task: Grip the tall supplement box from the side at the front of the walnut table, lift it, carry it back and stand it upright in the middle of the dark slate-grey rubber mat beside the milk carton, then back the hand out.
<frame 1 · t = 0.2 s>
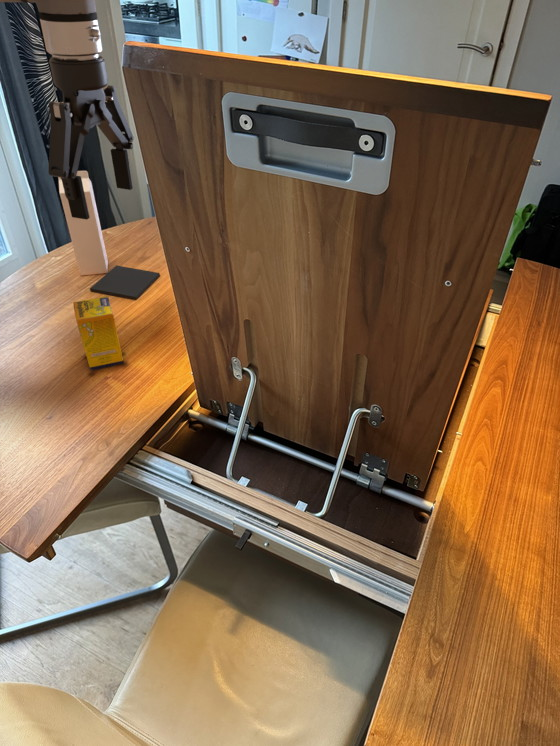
hand: (104, 202, 87), 25 cm above the table, tool pointing down, fingers open, 13 cm apart
milk: (94, 269, 119), on the table
supplement box: (105, 359, 94), on the table
mat: (126, 283, 114), on the table
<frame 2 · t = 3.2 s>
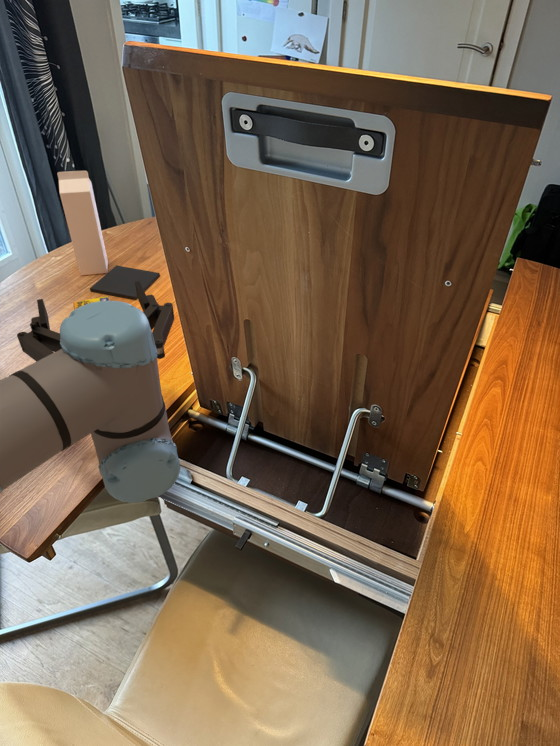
hand: (91, 298, 75), 18 cm above the table, tool horizontal, fingers open, 13 cm apart
nothing on the table moved.
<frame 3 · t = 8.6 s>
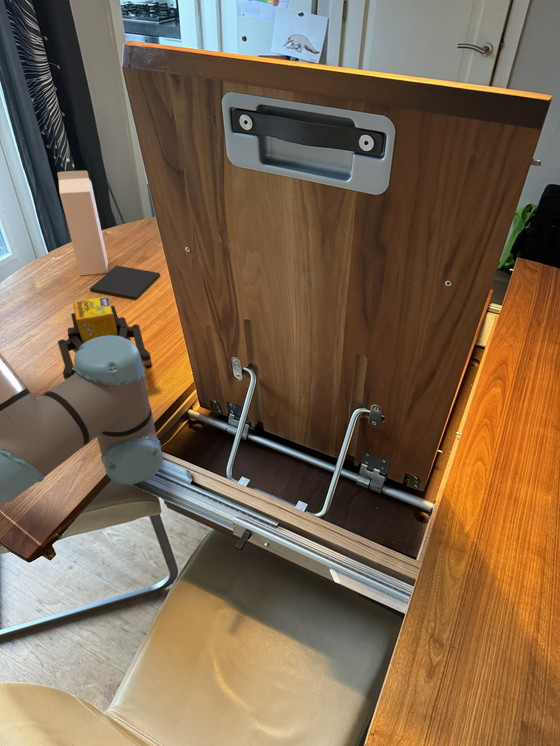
hand: (94, 316, 93), 6 cm above the table, tool horizontal, fingers closed on supplement box, 6 cm apart
supplement box: (105, 359, 94), on the table, touching gripper
everything else where it was.
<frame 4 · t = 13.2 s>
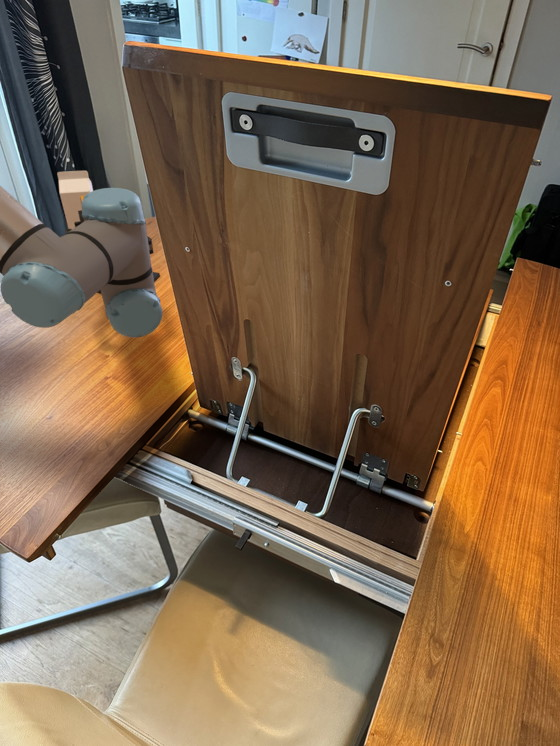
hand: (99, 215, 99), 18 cm above the table, tool horizontal, fingers closed on supplement box, 6 cm apart
supplement box: (109, 256, 99), point 12 cm above the table, touching gripper
everything else where it was.
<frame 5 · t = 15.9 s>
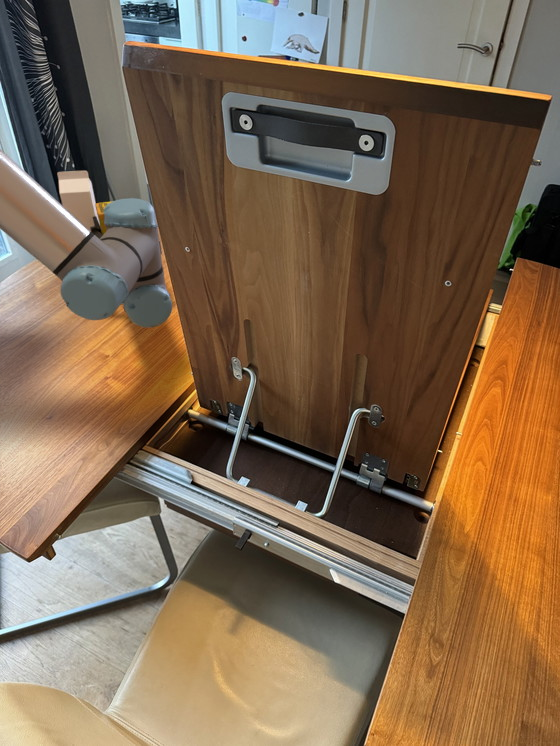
hand: (111, 220, 110), 13 cm above the table, tool horizontal, fingers closed on supplement box, 6 cm apart
supplement box: (121, 257, 110), point 6 cm above the table, touching gripper
everything else where it was.
when the fingers open (7 cm above the table, at t = 17.9 s): supplement box stays where it is, resting on mat.
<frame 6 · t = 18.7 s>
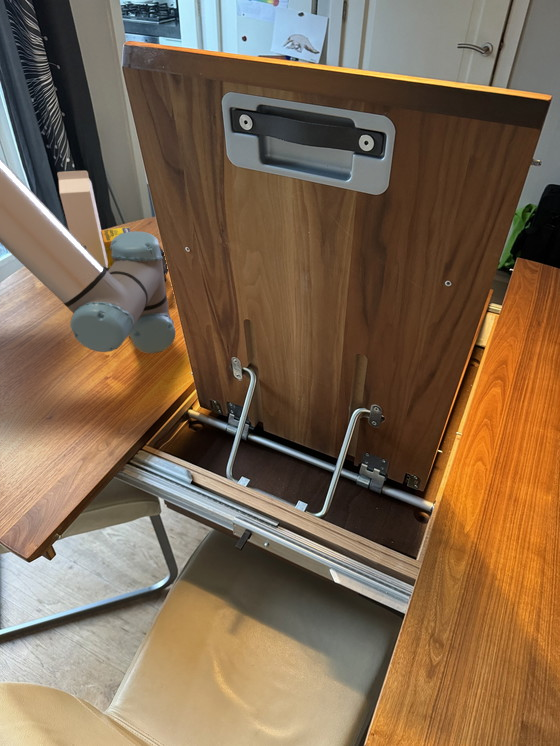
hand: (117, 246, 112), 7 cm above the table, tool horizontal, fingers open, 13 cm apart
supplement box: (125, 281, 114), point 1 cm above the table, touching mat
everything else where it was.
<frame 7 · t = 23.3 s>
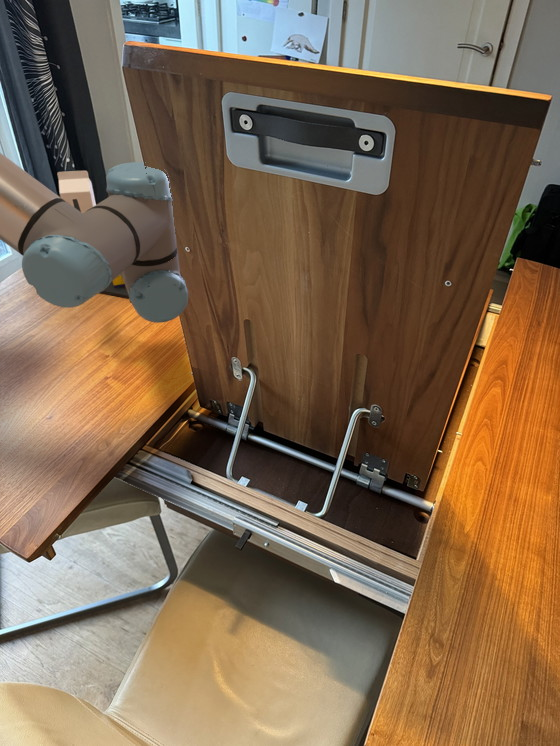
hand: (115, 201, 93), 22 cm above the table, tool horizontal, fingers open, 13 cm apart
nothing on the table moved.
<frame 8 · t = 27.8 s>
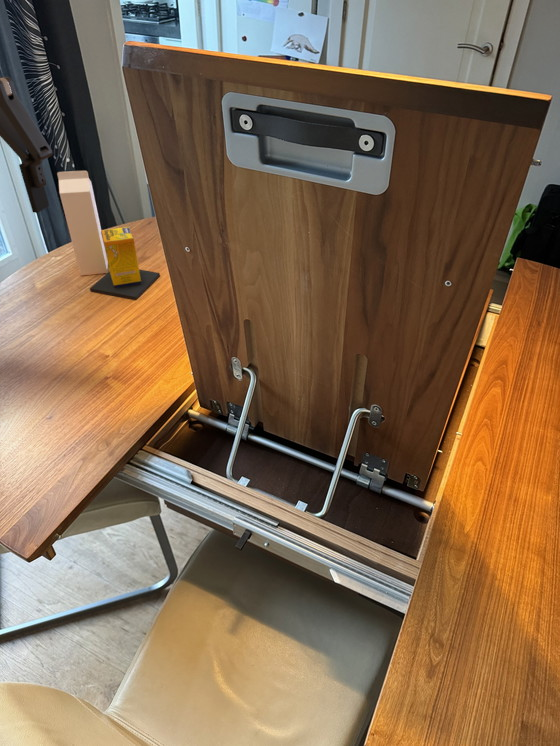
hand: (1, 203, 75), 29 cm above the table, tool pointing down, fingers open, 13 cm apart
nothing on the table moved.
at the end: supplement box inside the target area on the mat (0.1 cm from its centre), point 0.6 cm above the mat's base; supplement box tilted 0°; the gripper is holding nothing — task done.
